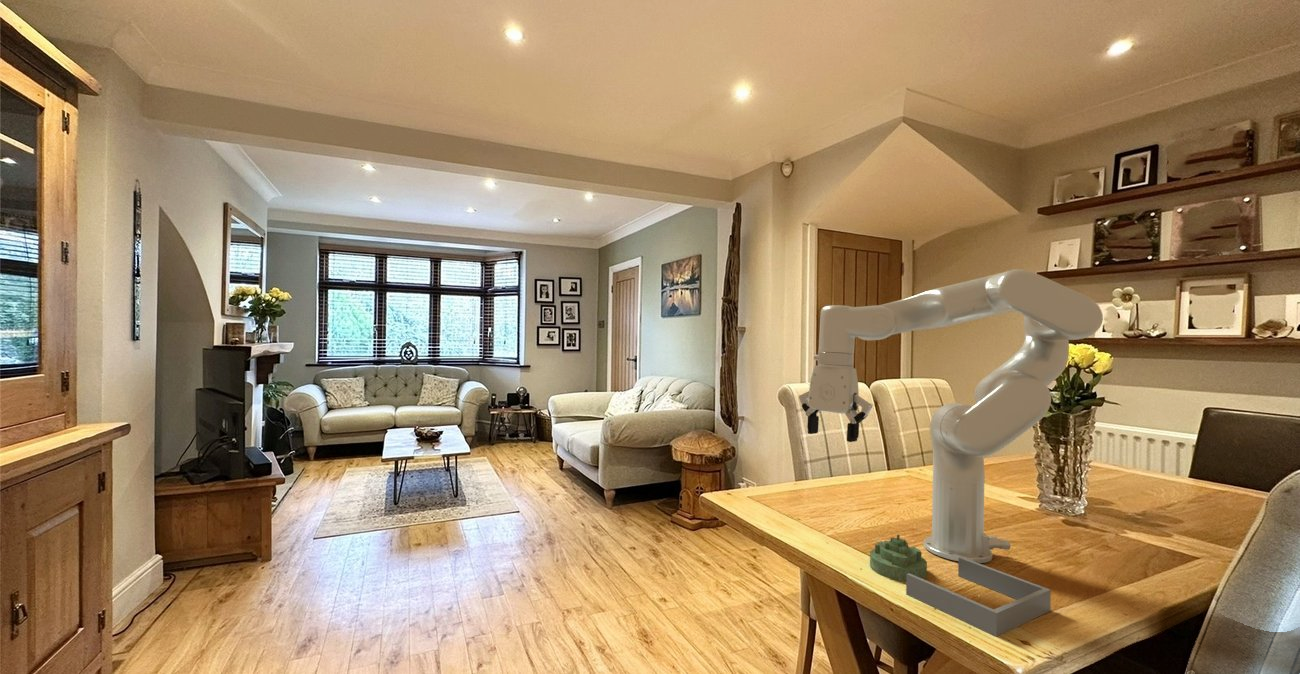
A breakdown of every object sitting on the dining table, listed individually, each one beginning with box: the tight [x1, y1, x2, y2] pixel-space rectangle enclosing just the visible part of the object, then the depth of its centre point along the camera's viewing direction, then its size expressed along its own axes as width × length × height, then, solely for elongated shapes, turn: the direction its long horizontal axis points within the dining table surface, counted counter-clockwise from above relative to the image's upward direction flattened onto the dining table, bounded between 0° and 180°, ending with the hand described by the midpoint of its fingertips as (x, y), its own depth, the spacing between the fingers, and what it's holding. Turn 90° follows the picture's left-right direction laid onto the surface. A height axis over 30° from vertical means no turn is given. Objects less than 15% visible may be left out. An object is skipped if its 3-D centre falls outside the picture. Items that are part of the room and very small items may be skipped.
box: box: [905, 557, 1052, 637], centre depth 89 cm, size 15×17×4 cm
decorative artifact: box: [869, 534, 928, 583], centre depth 101 cm, size 10×7×10 cm
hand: (831, 437), depth 116 cm, fingers open, 9 cm apart
